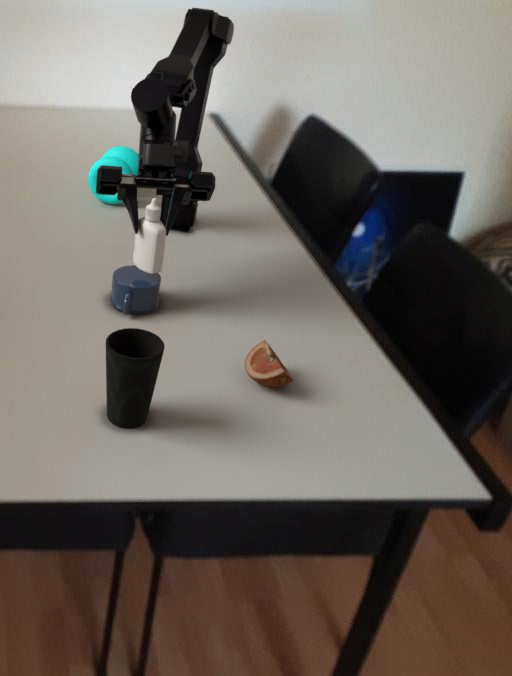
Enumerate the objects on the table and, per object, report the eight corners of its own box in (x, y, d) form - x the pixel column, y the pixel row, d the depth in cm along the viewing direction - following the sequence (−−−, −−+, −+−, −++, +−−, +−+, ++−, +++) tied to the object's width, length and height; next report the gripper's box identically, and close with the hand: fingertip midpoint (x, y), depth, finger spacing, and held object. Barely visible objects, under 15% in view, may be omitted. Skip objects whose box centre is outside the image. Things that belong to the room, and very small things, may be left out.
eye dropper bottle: (157, 259, 142) (165, 191, 135) (162, 275, 138) (171, 206, 131) (131, 259, 142) (138, 191, 135) (136, 275, 137) (143, 205, 130)
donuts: (85, 201, 178) (88, 155, 173) (100, 185, 186) (104, 140, 180) (130, 210, 175) (134, 163, 170) (144, 193, 183) (149, 148, 177)
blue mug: (117, 287, 148) (119, 261, 145) (163, 296, 146) (167, 270, 143) (100, 314, 140) (102, 287, 137) (149, 324, 138) (152, 297, 135)
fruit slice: (298, 398, 122) (305, 369, 119) (253, 400, 122) (259, 371, 119) (278, 366, 129) (285, 338, 126) (236, 367, 128) (241, 339, 125)
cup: (95, 400, 120) (102, 328, 113) (149, 399, 121) (158, 327, 114) (103, 434, 114) (110, 359, 107) (159, 432, 114) (169, 358, 108)
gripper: (101, 115, 130) (94, 211, 127) (223, 122, 129) (219, 219, 127) (99, 147, 141) (92, 236, 138) (211, 154, 140) (207, 244, 138)
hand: (151, 234), depth 135 cm, fingers closed on eye dropper bottle, 4 cm apart
